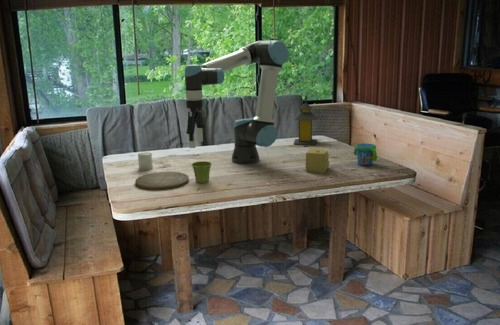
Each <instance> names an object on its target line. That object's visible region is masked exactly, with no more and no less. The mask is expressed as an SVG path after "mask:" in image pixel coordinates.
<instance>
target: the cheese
mask: <svg viewBox="0 0 500 325" xmlns="http://www.w3.org/2000/svg"><path fill="white" fill-rule="evenodd" d="M329 156H330V154H329V152H328V151H327V150H325V149H321V148H316V147H309V148H308V151H307V152H306V153H305V172H311V173H322V174H324V173H326V172H327V170H328V169H329V167H330V160H329Z"/></svg>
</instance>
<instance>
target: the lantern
mask: <svg viewBox="0 0 500 325" xmlns="http://www.w3.org/2000/svg"><path fill="white" fill-rule="evenodd" d="M307 100H308V94H307V95H304V103H303V104H302V105H301V106H300V108H299V109H300V111H299V113H297V115H296V116H295V117H294V121H295V120H296V121H298V138H295V139H294V141H293V145H294V146H317V142H318V139H316V138H313V121H316V120H317V119H318V118H317V116H316V114H315V113H314V112H312V111H311V109H312V106H311V105H310V104H309V103H308V101H307Z"/></svg>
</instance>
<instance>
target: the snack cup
mask: <svg viewBox="0 0 500 325" xmlns="http://www.w3.org/2000/svg"><path fill="white" fill-rule="evenodd" d="M354 145H355V146H354V150H353V154H354V156H356V161H357V165H360V166H371V165H373V163H374V162H376V161H377V159H378V156H377V155H378V154H377V151H376V149H377V145H375V144H373V143H357V144H354Z"/></svg>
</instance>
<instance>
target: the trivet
mask: <svg viewBox="0 0 500 325" xmlns="http://www.w3.org/2000/svg"><path fill="white" fill-rule="evenodd" d="M189 181H190V178H189V175H188V174H186V173H183V172H179V171H156V172H150V173H146V174H143V175H140V176H138V177H137V178H136V179H135V186H136V187H137V188H139V189H141V190H147V191H148V190H149V191H166V190H173V189H176V188H177V189H178V188H180V187H183V186H185V185H187V184H188V183H189Z"/></svg>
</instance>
